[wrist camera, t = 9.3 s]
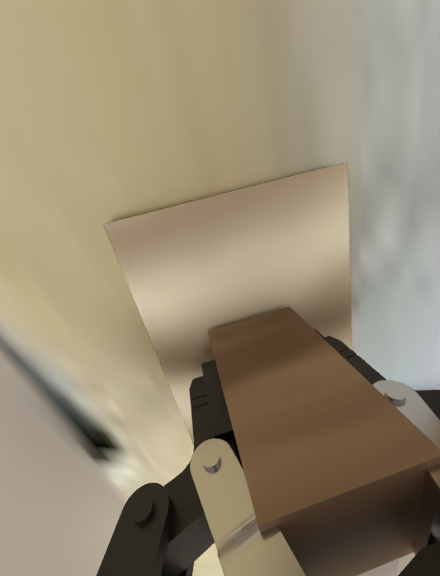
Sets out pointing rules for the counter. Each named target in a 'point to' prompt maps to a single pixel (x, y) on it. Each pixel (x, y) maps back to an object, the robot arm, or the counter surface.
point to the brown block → (321, 447)
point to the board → (238, 266)
